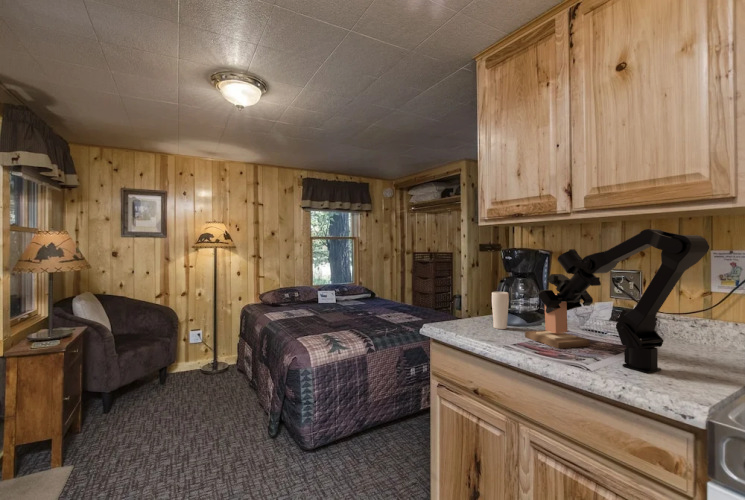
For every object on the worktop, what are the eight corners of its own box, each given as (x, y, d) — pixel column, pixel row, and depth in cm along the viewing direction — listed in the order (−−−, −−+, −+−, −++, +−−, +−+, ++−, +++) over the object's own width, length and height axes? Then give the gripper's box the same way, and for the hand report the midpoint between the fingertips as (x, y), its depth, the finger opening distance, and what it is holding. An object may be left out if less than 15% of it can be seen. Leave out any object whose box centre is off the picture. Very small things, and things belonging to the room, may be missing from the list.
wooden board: (589, 345, 119) (589, 338, 119) (558, 348, 115) (558, 341, 115) (553, 334, 134) (553, 328, 134) (525, 337, 131) (525, 330, 131)
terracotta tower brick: (567, 332, 123) (566, 295, 123) (555, 333, 122) (554, 296, 122) (556, 329, 128) (555, 293, 128) (545, 330, 127) (544, 294, 127)
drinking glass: (488, 327, 148) (488, 292, 148) (501, 326, 150) (501, 291, 150) (498, 330, 141) (498, 293, 142) (512, 329, 143) (512, 293, 144)
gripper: (585, 266, 124) (561, 293, 134) (542, 266, 119) (520, 295, 129) (606, 290, 116) (578, 317, 127) (560, 292, 111) (535, 320, 122)
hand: (552, 311), depth 126 cm, fingers closed on terracotta tower brick, 5 cm apart
